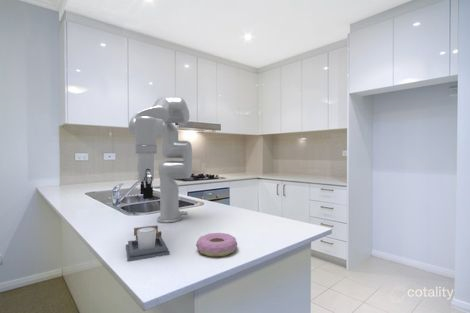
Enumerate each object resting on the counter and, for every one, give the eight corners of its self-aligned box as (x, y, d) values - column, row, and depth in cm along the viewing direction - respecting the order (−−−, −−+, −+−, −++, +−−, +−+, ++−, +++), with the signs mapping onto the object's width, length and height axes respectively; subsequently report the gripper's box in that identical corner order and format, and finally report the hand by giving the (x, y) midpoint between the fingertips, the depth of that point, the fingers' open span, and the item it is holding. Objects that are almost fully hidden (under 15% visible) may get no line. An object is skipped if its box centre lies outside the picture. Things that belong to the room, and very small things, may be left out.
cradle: (162, 241, 107) (162, 235, 107) (169, 254, 94) (169, 247, 94) (125, 247, 101) (125, 240, 101) (127, 261, 88) (127, 254, 88)
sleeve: (157, 231, 120) (157, 225, 120) (161, 239, 110) (161, 232, 110) (134, 234, 116) (134, 227, 116) (136, 242, 106) (136, 235, 106)
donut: (221, 240, 109) (221, 228, 109) (245, 251, 97) (245, 238, 97) (188, 249, 99) (188, 236, 99) (211, 263, 88) (211, 248, 87)
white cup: (146, 253, 93) (146, 233, 92) (132, 249, 96) (132, 230, 96) (160, 246, 99) (160, 228, 98) (147, 243, 102) (147, 225, 102)
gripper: (133, 150, 103) (133, 193, 104) (137, 150, 87) (137, 201, 88) (153, 150, 106) (153, 192, 107) (160, 150, 91) (160, 199, 91)
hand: (146, 196), depth 97 cm, fingers open, 9 cm apart
